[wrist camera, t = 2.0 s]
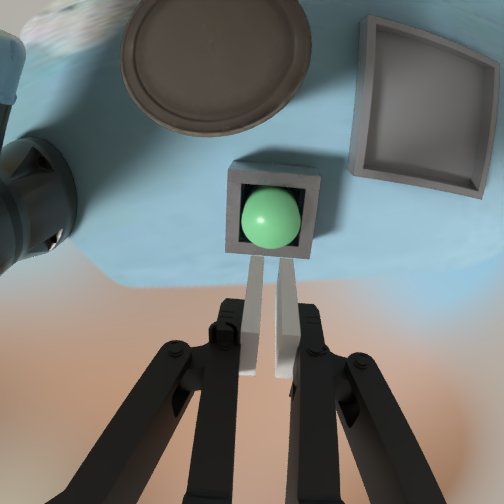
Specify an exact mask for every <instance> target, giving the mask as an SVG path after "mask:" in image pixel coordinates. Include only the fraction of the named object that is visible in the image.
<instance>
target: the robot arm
mask: <svg viewBox="0 0 504 504" xmlns="http://www.w3.org/2000/svg"><path fill="white" fill-rule="evenodd" d="M25 59H26V49H25V46H24V44H23V42H22V41H21V40H20V39H19V38H18V37H16V36H14V35H12V34H10V33H7V32H5V31H3V30H0V276H1V275H2V274H3V273H4V272H5V271H6V270H8V269H9V268H10V267H11V266H12V265H13V264H14V263H16V262H17V261H20V260H23V259H27V258H30V257H34V256H38V255H41V254H45V253H48V252H49V251H51V250H53V249H54V248H56V247H57V246H58V245H59V244H60V243H62V242H63V241H64V240H65V239H66V238H67V237H68V235H69V234H70V232H71V230H72V228H73V225H74V222H75V218H76V212H77V195H76V188H75V184H74V180H73V177H72V174H71V171H70V169H69V167H68V165H67V163H66V161H65V160H64V158H63V157H62V155H61V154H60V153H59V151H58V150H57V149H56V148H55V147H54V146H53V145H51V144H50V143H49V142H47V141H45V140H43V139H40V138H37V137H26V138H22V139H19V140H15V141H13V142H11V143H9V144H7V145H5V146H4V147H3V148H2V145H3V140H4V136H5V131H6V127H7V123H8V119H9V115H10V112H11V108H12V105H13V104H14V103H15V101H16V99H17V96H16V90H17V86H18V83H19V79H20V76H21V72H22V69H23V66H24V63H25ZM263 267H264V257H259V256H251V260H250V267H249V274H248V281H247V289H246V296H245V300H242V299H230V298H226V299H225V300H224V301H223V302H222V303H221V306H220V310H219V314H218V318H217V321H216V322H214V323H213V324H211V326H210V327H209V342H208V343H207V344H205V345H203V346H198V347H190V346H189V345H188V344H187V343H186V342H183V341H180V340H173V341H169V342H167V343H165V344H164V345H163V346H162V347H161V348H160V350H159V351H158V353H157V354H156V356H155V357H154V358H153V360H152V361H151V363H150V364H149V366H148V367H147V368H146V370H145V371H144V373H143V374H142V376H141V377H140V379H139V380H138V382H137V383H136V385H135V386H134V387H133V389H132V390H131V392H130V393H129V395H128V396H127V398H126V399H125V401H124V402H123V404H122V405H121V406H120V408H119V409H118V411H117V412H116V414H115V415H114V417H113V418H112V420H111V421H110V423H109V424H108V426H107V427H106V429H105V430H104V432H103V433H102V435H101V436H100V438H99V439H98V440H97V442H96V443H95V445H94V447H93V448H92V449H91V451H90V452H89V454H88V456H87V457H86V459H85V460H84V462H83V463H82V465H81V466H80V468H79V469H78V471H77V472H76V474H75V475H74V477H73V478H72V480H71V481H70V483H69V485H68V486H67V488H66V489H65V490H64V491H63V492H61V493H60V494H58V495H57V496H55V497H54V498H52V499H51V500H49V501H48V502H46V503H45V504H136V503H137V502H138V500H139V498H140V496H141V494H142V492H143V490H144V488H145V486H146V485H147V483H148V481H149V479H150V477H151V475H152V473H153V471H154V469H155V467H156V465H157V464H158V462H159V460H160V458H161V456H162V454H163V452H164V450H165V448H166V446H167V445H168V443H169V441H170V439H171V437H172V435H173V433H174V431H175V429H176V427H177V425H178V423H179V421H180V419H181V418H182V416H183V414H184V412H185V410H186V408H187V406H188V404H189V402H190V400H191V398H192V396H193V394H194V392H195V391H197V390H201V396H200V402H199V409H198V416H197V422H196V428H195V435H194V443H193V449H192V456H191V463H190V470H189V477H188V485H187V491H186V494H185V495H184V498H183V501H182V504H232V491H233V472H234V470H233V469H234V452H235V451H234V450H235V432H236V413H237V395H238V378H239V375H248V376H255V371H256V362H257V352H258V343H259V332H260V317H261V300H262V284H263ZM275 300H276V303H275V307H276V310H275V311H276V312H275V314H276V315H275V318H276V319H275V320H276V321H275V323H276V324H275V325H276V327H275V332H276V333H275V377H276V378H292V374H293V382H292V386H291V390H290V394H289V397H291V411H290V434H289V435H290V436H289V453H288V470H287V485H286V499H285V504H345V503H344V502H343V501H342V500H341V497H340V473H339V452H338V435H337V422H336V421H337V420H336V411H337V413H338V416H339V419H340V421H341V424H342V426H343V429H344V432H345V434H346V437H347V440H348V442H349V445H350V448H351V451H352V453H353V456H354V459H355V461H356V464H357V467H358V470H359V472H360V475H361V478H362V481H363V483H364V486H365V489H366V492H367V494H368V497H369V500H370V503H371V504H447V503H446V501H445V499H444V497H443V494H442V492H441V490H440V488H439V486H438V484H437V482H436V479H435V477H434V475H433V473H432V471H431V469H430V467H429V464H428V463H427V460H426V458H425V456H424V454H423V452H422V450H421V448H420V446H419V444H418V442H417V440H416V438H415V436H414V434H413V432H412V430H411V428H410V426H409V424H408V422H407V420H406V418H405V416H404V415H403V413H402V411H401V409H400V407H399V405H398V403H397V401H396V399H395V397H394V396H393V394H392V392H391V390H390V388H389V387H388V384H387V382H386V381H385V379H384V377H383V375H382V373H381V371H380V370H379V368H378V366H377V364H376V363H375V361H374V360H373V358H372V357H371V356H369V355H368V354H365V353H361V352H360V353H359V352H356V353H353V354H351V355H350V356H349V357H348V358H345V357H342V356H338V355H335V354H333V353H332V352H330V350H329V348H328V347H327V346H326V345H325V342H324V336H323V330H322V325H321V319H320V313H319V310H318V309H317V307H316V306H315V305H314V304H303V303H298V302H297V291H296V282H295V272H294V264H293V259H284V258H280V263H279V271H278V280H277V288H276V298H275Z"/></svg>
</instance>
